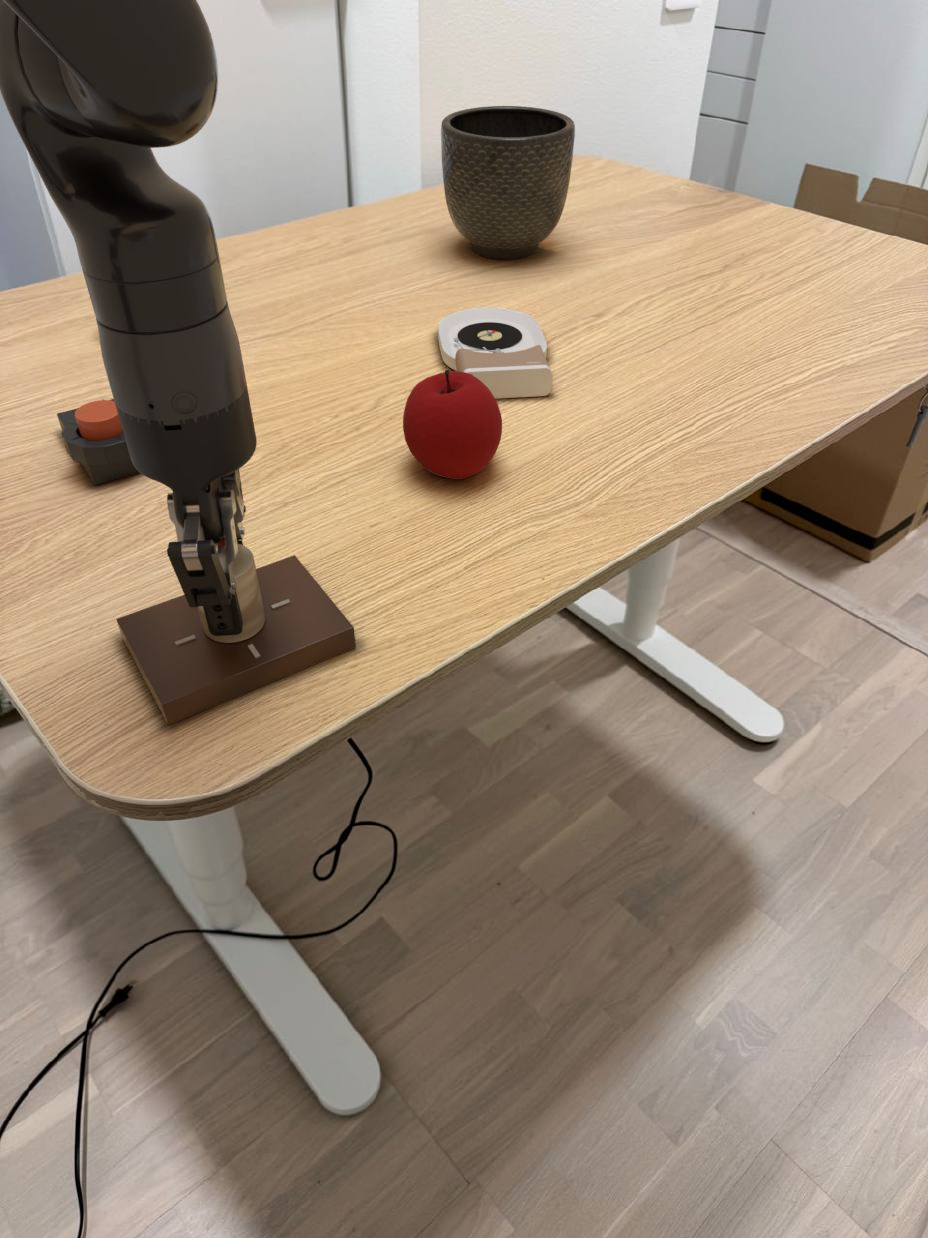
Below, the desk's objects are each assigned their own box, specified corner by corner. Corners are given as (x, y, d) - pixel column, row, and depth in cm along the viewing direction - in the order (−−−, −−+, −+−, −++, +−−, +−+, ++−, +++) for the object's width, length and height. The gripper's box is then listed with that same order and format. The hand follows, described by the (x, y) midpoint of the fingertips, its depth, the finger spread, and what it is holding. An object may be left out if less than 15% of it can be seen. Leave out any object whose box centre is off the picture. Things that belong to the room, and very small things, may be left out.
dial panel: (168, 725, 60) (161, 703, 59) (122, 639, 66) (115, 617, 65) (356, 647, 66) (353, 625, 64) (297, 574, 72) (294, 553, 71)
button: (87, 446, 80) (81, 426, 78) (75, 427, 82) (69, 407, 81) (132, 434, 81) (127, 413, 80) (119, 415, 84) (113, 395, 82)
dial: (263, 641, 63) (250, 576, 59) (199, 645, 63) (182, 580, 59) (267, 600, 66) (255, 536, 63) (206, 604, 66) (190, 540, 62)
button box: (87, 494, 81) (74, 455, 78) (53, 436, 88) (40, 398, 85) (215, 455, 85) (207, 417, 83) (172, 404, 93) (164, 367, 90)
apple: (521, 475, 83) (526, 374, 76) (434, 504, 79) (432, 400, 73) (470, 431, 89) (470, 333, 82) (387, 456, 85) (381, 356, 79)
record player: (450, 372, 91) (433, 296, 106) (450, 400, 93) (433, 322, 108) (564, 366, 92) (531, 292, 107) (562, 394, 94) (530, 317, 109)
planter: (449, 225, 133) (448, 103, 123) (566, 229, 132) (575, 106, 122) (435, 269, 121) (433, 136, 110) (565, 274, 119) (575, 140, 109)
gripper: (136, 334, 58) (191, 550, 69) (86, 451, 47) (160, 683, 58) (255, 329, 58) (290, 544, 69) (232, 443, 47) (278, 676, 59)
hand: (231, 607), depth 64 cm, fingers closed on dial, 4 cm apart
